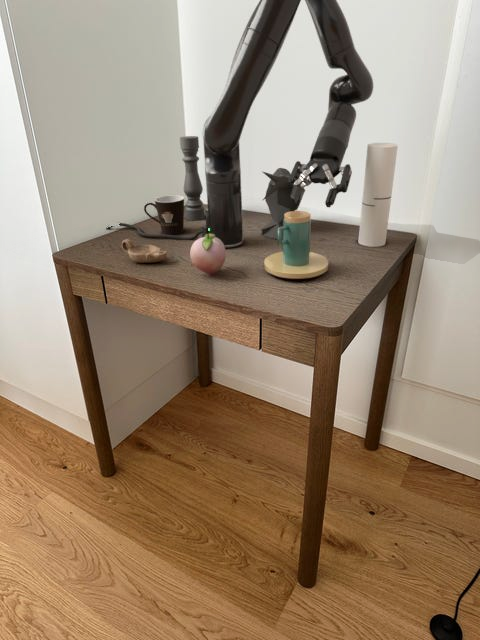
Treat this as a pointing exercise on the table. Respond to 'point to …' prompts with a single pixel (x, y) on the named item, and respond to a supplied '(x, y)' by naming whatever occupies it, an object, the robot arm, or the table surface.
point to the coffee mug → (169, 213)
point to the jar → (295, 250)
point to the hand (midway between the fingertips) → (310, 203)
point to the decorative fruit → (208, 253)
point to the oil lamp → (143, 252)
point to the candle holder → (192, 178)
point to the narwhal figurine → (279, 201)
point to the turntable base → (295, 279)
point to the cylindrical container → (377, 193)
